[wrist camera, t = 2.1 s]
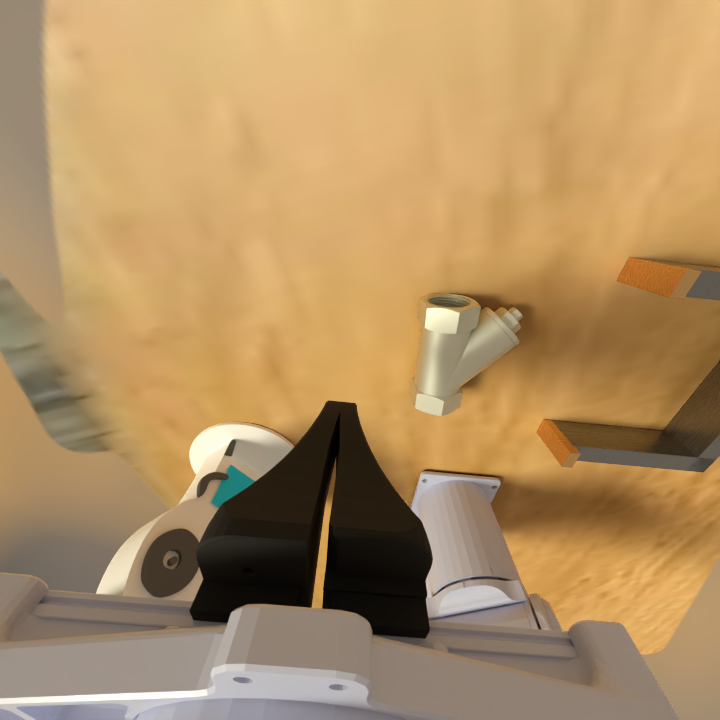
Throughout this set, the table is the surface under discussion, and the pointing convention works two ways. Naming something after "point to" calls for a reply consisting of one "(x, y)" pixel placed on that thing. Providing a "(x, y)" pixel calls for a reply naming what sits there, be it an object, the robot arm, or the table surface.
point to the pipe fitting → (457, 347)
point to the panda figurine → (193, 513)
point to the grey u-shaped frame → (691, 424)
